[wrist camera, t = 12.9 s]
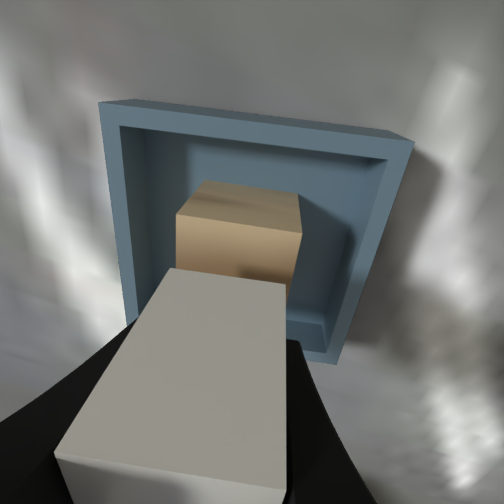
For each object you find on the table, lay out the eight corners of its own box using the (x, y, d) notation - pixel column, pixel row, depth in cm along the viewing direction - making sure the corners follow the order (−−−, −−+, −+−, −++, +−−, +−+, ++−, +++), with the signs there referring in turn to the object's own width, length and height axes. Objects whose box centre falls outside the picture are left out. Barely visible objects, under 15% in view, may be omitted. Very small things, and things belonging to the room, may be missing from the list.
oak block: (278, 285, 19) (277, 344, 15) (200, 272, 19) (175, 327, 15) (297, 193, 16) (302, 233, 12) (205, 179, 16) (175, 213, 12)
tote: (329, 325, 21) (336, 364, 18) (149, 298, 22) (127, 333, 19) (388, 130, 15) (414, 141, 12) (134, 98, 16) (98, 102, 12)
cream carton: (269, 365, 12) (258, 574, 7) (172, 350, 12) (89, 544, 7) (285, 284, 10) (286, 490, 5) (169, 267, 10) (53, 452, 5)
